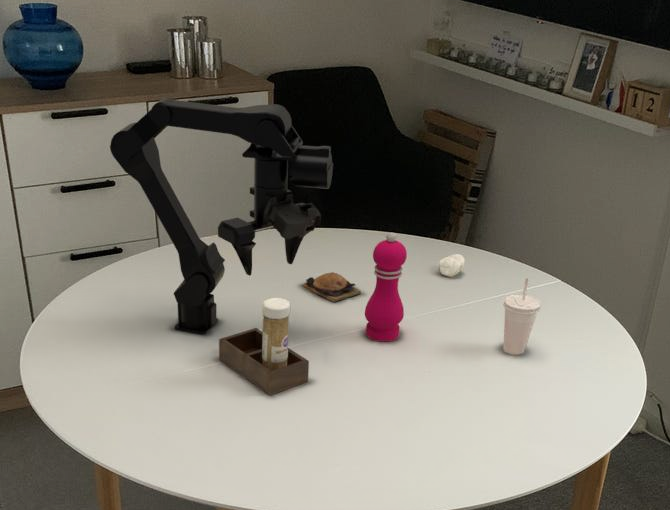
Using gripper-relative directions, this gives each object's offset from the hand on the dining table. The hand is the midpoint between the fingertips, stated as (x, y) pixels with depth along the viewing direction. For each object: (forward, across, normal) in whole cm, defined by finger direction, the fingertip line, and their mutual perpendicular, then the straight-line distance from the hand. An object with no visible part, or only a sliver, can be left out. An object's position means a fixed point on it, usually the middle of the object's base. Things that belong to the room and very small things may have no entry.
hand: (269, 269), depth 160 cm
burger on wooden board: (+13, +23, +9) cm, 28 cm away
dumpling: (+13, +50, +2) cm, 52 cm away
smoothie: (+13, +33, -31) cm, 47 cm away
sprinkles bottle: (+12, -9, -14) cm, 21 cm away
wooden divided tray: (+13, -9, -11) cm, 19 cm away
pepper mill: (+13, +18, -12) cm, 25 cm away
